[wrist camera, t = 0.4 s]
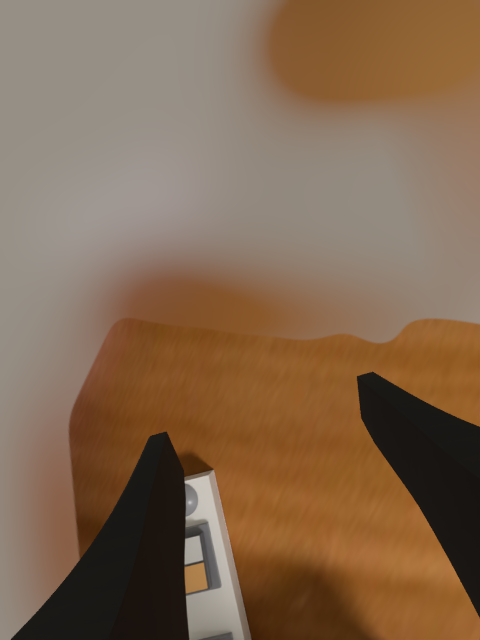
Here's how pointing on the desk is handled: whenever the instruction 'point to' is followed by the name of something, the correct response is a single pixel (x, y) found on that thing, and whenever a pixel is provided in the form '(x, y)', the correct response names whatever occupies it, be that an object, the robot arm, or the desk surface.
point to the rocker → (196, 564)
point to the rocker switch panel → (213, 567)
